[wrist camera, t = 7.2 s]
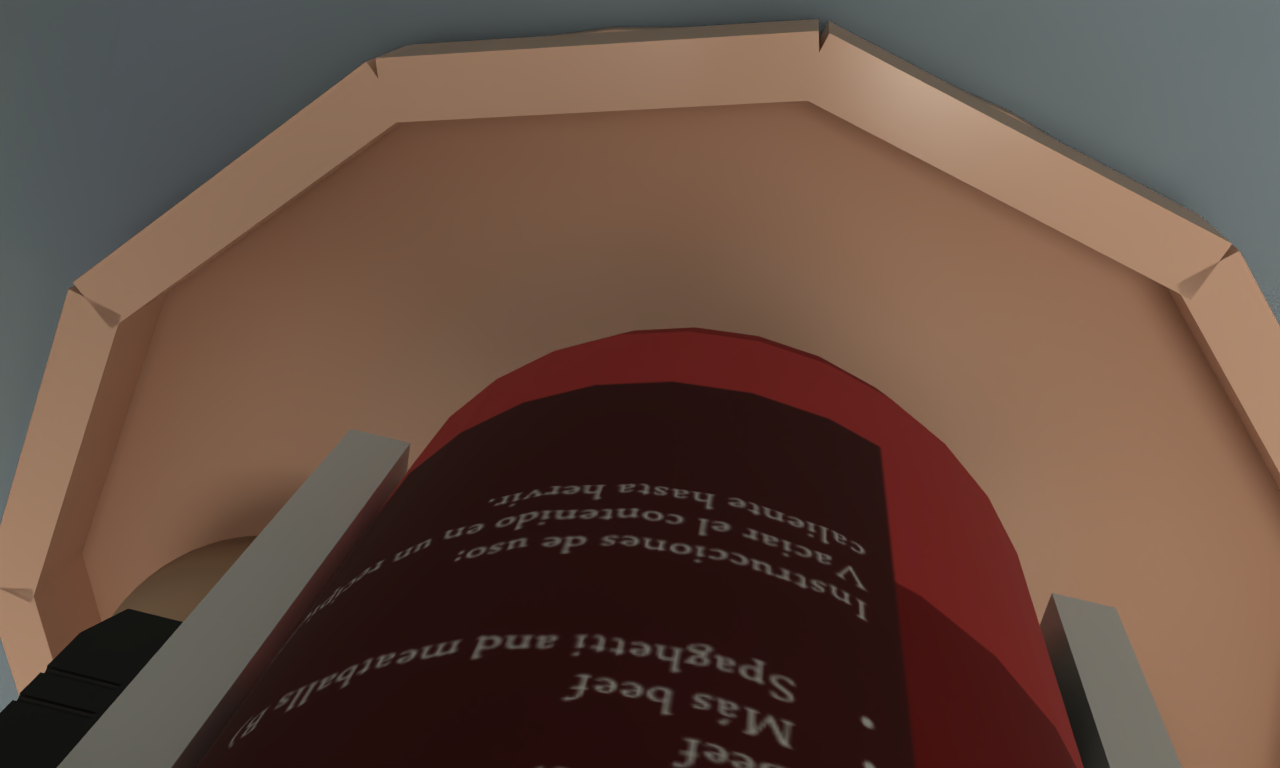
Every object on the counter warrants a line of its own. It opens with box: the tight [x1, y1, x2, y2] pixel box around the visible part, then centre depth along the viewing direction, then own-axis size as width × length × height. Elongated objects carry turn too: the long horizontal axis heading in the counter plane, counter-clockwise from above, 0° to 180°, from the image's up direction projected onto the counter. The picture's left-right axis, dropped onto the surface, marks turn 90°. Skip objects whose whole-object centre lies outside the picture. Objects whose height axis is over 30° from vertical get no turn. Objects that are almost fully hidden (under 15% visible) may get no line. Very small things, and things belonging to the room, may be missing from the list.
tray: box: [0, 19, 1280, 768], centre depth 24 cm, size 26×26×2 cm
